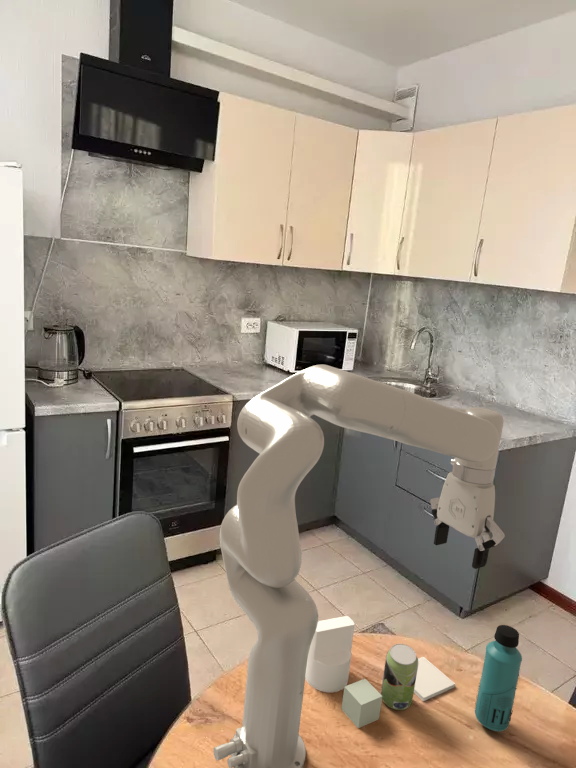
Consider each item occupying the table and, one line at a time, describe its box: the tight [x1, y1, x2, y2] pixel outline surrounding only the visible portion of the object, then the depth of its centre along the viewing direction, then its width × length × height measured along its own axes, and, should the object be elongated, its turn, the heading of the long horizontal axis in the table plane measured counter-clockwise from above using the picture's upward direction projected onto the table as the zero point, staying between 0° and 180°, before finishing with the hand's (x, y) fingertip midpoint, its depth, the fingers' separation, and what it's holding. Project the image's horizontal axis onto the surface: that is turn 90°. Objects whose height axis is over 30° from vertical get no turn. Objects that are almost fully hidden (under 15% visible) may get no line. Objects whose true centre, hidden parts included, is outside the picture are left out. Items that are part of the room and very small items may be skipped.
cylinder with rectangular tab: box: [305, 615, 355, 693], centre depth 112 cm, size 9×9×12 cm
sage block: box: [341, 678, 383, 729], centre depth 104 cm, size 5×5×5 cm
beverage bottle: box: [474, 624, 523, 732], centre depth 103 cm, size 6×7×20 cm
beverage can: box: [380, 643, 419, 711], centre depth 106 cm, size 6×7×12 cm
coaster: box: [413, 656, 456, 702], centre depth 115 cm, size 9×9×1 cm
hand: (458, 554), depth 109 cm, fingers open, 9 cm apart
